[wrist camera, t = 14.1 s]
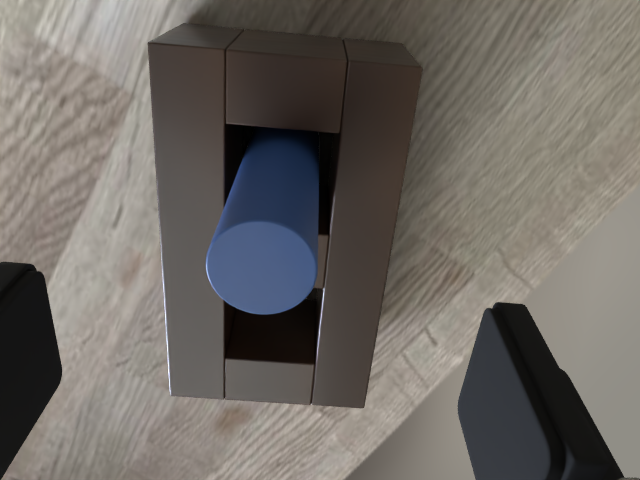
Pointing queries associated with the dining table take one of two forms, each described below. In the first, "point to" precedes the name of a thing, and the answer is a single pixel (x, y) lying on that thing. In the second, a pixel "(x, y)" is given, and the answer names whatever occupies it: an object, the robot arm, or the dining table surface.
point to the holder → (334, 203)
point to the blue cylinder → (269, 224)
